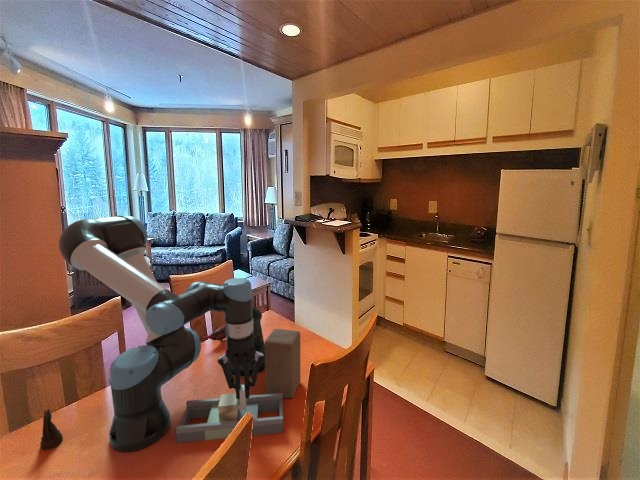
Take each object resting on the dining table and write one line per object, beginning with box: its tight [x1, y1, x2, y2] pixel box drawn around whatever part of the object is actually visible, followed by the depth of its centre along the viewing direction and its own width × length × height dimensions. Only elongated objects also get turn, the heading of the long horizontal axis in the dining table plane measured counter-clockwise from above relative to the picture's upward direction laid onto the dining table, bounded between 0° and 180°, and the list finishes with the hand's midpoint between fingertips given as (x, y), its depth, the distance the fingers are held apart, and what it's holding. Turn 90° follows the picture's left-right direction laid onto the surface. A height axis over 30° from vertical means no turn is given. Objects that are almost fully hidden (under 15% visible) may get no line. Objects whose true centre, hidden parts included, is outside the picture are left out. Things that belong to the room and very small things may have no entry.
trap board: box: [175, 393, 284, 444], centre depth 91 cm, size 29×11×4 cm, turn 98°
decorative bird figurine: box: [199, 323, 227, 344], centre depth 135 cm, size 3×18×10 cm, turn 139°
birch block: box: [218, 392, 239, 422], centre depth 91 cm, size 5×5×5 cm
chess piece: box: [40, 407, 64, 451], centre depth 83 cm, size 5×5×10 cm
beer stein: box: [227, 305, 265, 378], centre depth 119 cm, size 16×19×25 cm
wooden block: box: [264, 328, 301, 399], centre depth 105 cm, size 10×10×20 cm
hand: (243, 407), depth 91 cm, fingers closed
